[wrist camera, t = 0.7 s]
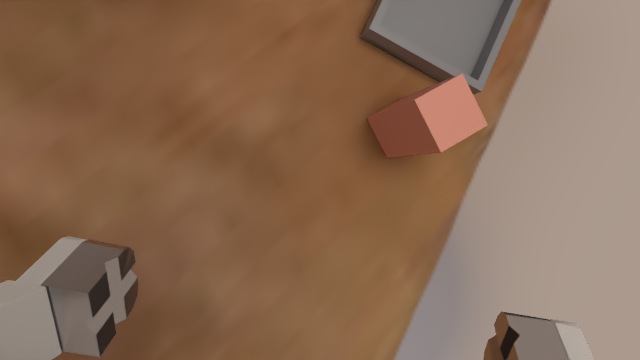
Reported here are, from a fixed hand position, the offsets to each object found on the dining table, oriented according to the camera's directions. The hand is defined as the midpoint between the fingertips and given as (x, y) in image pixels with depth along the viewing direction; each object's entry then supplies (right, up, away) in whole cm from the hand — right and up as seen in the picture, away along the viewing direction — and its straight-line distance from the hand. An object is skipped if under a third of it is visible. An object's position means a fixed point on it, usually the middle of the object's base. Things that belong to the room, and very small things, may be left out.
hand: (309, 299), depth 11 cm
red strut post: (+8, +8, +39) cm, 40 cm away
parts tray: (+13, +20, +40) cm, 46 cm away
